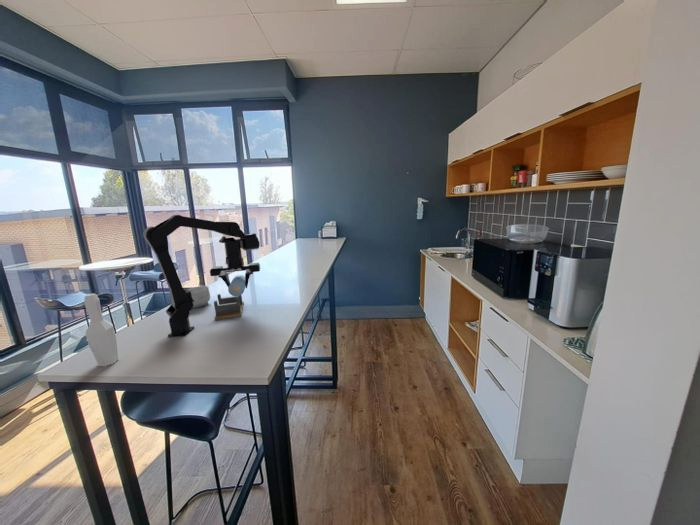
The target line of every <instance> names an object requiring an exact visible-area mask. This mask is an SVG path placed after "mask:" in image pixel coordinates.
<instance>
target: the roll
mask: <svg viewBox="0 0 700 525" xmlns="http://www.w3.org/2000/svg"><path fill="white" fill-rule="evenodd" d="M245 289H246V285H245V275H243V274H236V275H234V277H233V278H232V280H231V281H230V285H229V287H228V286H227V291H228V293H229V294H230V295H231V296H240V295H241V296H242V295H243V294H244V292H245Z"/></svg>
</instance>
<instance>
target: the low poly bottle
mask: <svg viewBox="0 0 700 525" xmlns="http://www.w3.org/2000/svg"><path fill="white" fill-rule="evenodd" d="M83 305H84V307H85V310H86V312H87V314H88V317H89V320H90V323H89V325H88V327H87V329H86V331H85V337H86V340H87V343H88V346H89V349H90V351H91V352H92V354H93V357H94V358H95V361H96V363H97V365H98V367H99V366H103V367H108V366H111V365H114V364H115V363H117V362H118V361H119V353H118V344H117V336H116V332H115V329H114V328H115V327H114V325H113V322H112V323H111V322H110V321H108V320H106V319H104V316H103V313H102V309H101V308H102V307H101V301H100V298H99V296H98V295H97V294H96V293H88V294H85V295H84V302H83ZM117 360H118V361H117ZM116 361H117V362H116ZM113 363H114V364H113ZM110 364H111V365H110ZM107 365H108V366H107Z"/></svg>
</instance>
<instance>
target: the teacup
mask: <svg viewBox="0 0 700 525" xmlns="http://www.w3.org/2000/svg"><path fill="white" fill-rule="evenodd" d="M209 287H210V286H208V285H202V284H201V285H199V286H195V287H191V288H187V289H188V290H189V291H190V292H191V295H192V299H193V300H194V301H195V302H193V308H195V309H196V308H200V307H203V306H206V305H207V304H208V303H209V302H210V300H211V294H210V289H209ZM193 308H192V309H193Z"/></svg>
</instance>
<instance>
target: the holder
mask: <svg viewBox="0 0 700 525" xmlns="http://www.w3.org/2000/svg"><path fill="white" fill-rule="evenodd" d="M213 305H214V306H213V307H214V311H215V316H214V321H220V320H221V321H222V320H228V319H234V318H240V317H242V313H243V310H244V309H243V308H244V305H245V302H244V301H243V296H242V295H240V296H233V295H231V296H228V297H227V296H226V297H221V293H218V294H217V300H214V301H213Z"/></svg>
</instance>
